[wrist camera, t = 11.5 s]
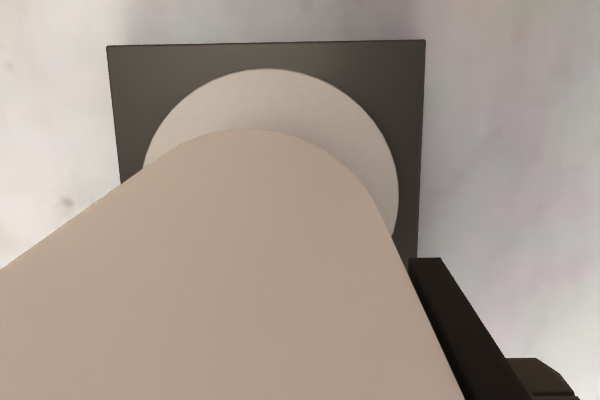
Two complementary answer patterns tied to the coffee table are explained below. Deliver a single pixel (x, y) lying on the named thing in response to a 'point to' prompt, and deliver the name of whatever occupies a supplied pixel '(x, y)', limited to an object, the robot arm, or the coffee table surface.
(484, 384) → the robot arm
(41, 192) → the coffee table surface
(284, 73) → the scale
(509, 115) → the coffee table surface
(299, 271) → the cup
